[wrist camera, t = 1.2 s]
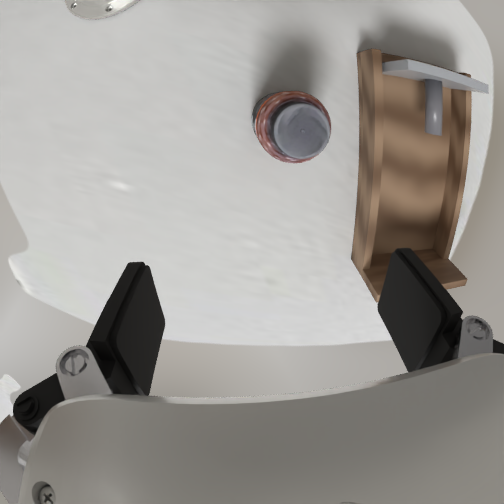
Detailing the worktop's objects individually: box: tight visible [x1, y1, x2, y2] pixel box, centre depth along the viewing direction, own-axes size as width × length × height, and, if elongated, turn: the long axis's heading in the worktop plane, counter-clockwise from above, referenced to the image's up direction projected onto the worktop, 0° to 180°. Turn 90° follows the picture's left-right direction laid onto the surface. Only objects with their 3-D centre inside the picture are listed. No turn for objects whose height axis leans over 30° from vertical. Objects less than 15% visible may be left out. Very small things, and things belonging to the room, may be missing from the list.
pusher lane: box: [351, 49, 471, 302], centre depth 26 cm, size 26×14×9 cm, turn 4°
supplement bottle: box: [252, 91, 331, 163], centre depth 22 cm, size 6×6×11 cm
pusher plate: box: [382, 59, 488, 136], centre depth 21 cm, size 7×11×7 cm, turn 94°
